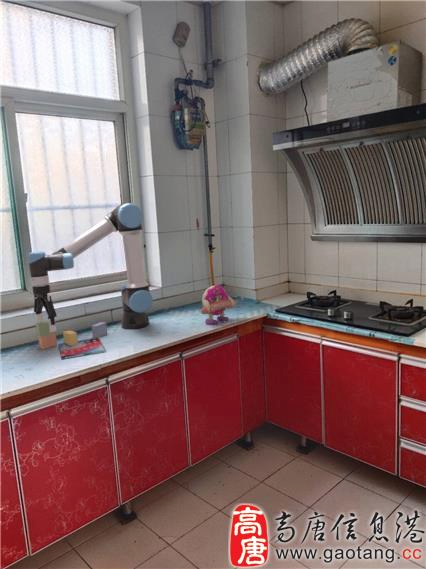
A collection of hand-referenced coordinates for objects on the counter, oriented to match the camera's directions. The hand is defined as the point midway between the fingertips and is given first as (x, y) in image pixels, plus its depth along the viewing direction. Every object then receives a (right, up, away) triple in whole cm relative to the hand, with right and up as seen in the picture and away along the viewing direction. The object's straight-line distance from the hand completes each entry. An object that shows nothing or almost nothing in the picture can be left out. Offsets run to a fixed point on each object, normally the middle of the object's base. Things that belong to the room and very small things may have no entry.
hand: (47, 329), depth 207 cm
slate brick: (+21, -5, +15) cm, 26 cm away
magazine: (+18, -9, -5) cm, 20 cm away
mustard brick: (+10, -7, +3) cm, 13 cm away
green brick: (-1, -2, 0) cm, 3 cm away
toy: (+81, +1, +27) cm, 86 cm away
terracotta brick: (0, -8, +1) cm, 8 cm away
